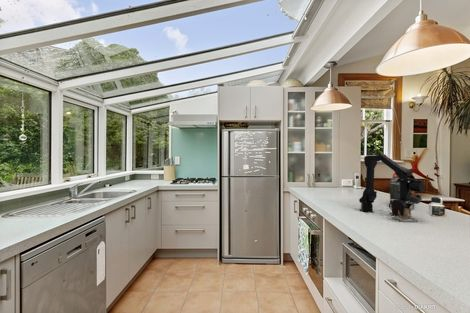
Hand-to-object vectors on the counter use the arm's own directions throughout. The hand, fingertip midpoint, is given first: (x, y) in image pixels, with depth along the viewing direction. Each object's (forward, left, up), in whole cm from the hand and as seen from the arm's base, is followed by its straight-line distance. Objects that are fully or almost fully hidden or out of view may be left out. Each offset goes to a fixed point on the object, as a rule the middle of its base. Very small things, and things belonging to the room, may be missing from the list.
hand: (404, 215), depth 165 cm
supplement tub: (+20, +36, -3) cm, 41 cm away
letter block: (0, 0, -1) cm, 1 cm away
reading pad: (0, 0, -3) cm, 3 cm away
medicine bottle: (+29, +13, -3) cm, 32 cm away
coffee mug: (+2, +13, -3) cm, 14 cm away
